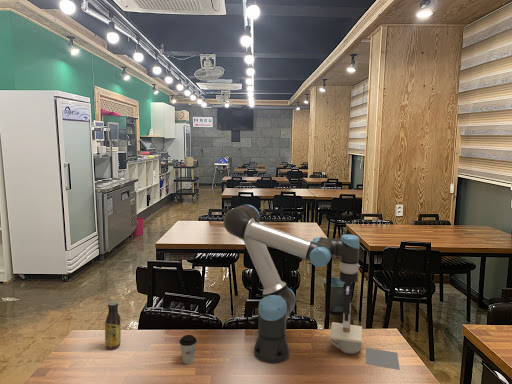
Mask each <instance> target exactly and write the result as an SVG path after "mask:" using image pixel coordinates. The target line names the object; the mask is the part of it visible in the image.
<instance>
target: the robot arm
mask: <svg viewBox="0 0 512 384" xmlns="http://www.w3.org/2000/svg"><path fill="white" fill-rule="evenodd" d="M260 219H261V216H260V213H259V210H258V209H257V208H256V207H255V206H253V205H252V204H240V205H239V206H236V207H234V208H231V209H229V210H228V211H227V212H226V213H225V215H224V217H223V227H224V229H225V230H226V232H227V233H229V234H230V235H232V236H234V237H236V238H238V239H240V240H242V241H243V243H244V245H245V248H246V250H247V253H248V254H249V256H250V260H251V262H252V264H253V266H254V268H255V271H256V272H257V273H256V274H257V275H258V278H259V280H260V282H261V285H262V287H263V291H262V295H263V298H261V299H260V300H259V303H258V309H257V311H258V317H257V318H258V322H257V325H258V326H257V327H258V328H257V329H258V331H257V333H258V334H257V337H256V339H255V340H256V341H255V342H254V346H253V356H254V357H255V358H256V359H257V360H259V361H261V362H264V363H267V364H277V363H281V362H284V361H286V360H287V359H288V358H289V357H290V346H289V342H288V340H287V336H286V334H287V333H286V332H287V320H288V318H289V317H290V315H291V313H292V312H293V311H294V309H295V306H296V299H297V298H296V294H295V293H294V291H293V290H292V289H291V288H289V287H288V285H287V283H286V282H285V281H282V280H281V277H280V274H279V273H278V270H277V268H276V266H275V263H274V261H273V259H272V257H271V254H270V252H269V250H268V248H267V246H268V247H271V248H273V249H277V250H280V251H283V252H285V253H287V254H291V255H293V256H297V257H299V258H302V259H305V260H306V261H310V263H311V264H312V265H313V266H314V267H317V268H322V267H325V266H326V265H327V264H328V263H329V262H330V261H331V258H332V257H335V258H340V261H339V280H340V282H342V283H343V286H342V288H343V299H344V300H343V310H341V313H342V316H343V317H342V324H343V327H345V328H349V325H351V318H350V316H351V314H352V313H351V310H352V304H353V301H354V300H352V296H353V289H354V284H355V283H357V282H358V280H359V268H360V267H361V265H360V264H359V262H360V237H359V236H357V235H355V234H346V233H345V234H342V235H341V237H340V238H332V237H331V238H330V237H329V238H328V237H322V236H320V237H318V236H316V237H313V238H312V240H309V239H307V238H303V237H300V236H298V235H295V234H291V233H289V232H287V231H283V230H280V229H277V228H274V227H272V226H269V225H266V224H264V223H260Z"/></svg>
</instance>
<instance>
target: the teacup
mask: <svg viewBox="0 0 512 384" xmlns="http://www.w3.org/2000/svg"><path fill="white" fill-rule="evenodd" d="M363 337H364V336H363V335H362V339H363ZM334 340H335V339H332V338H330V343H331V344H332V345H333V346H335V347H336V348H337V349H339V350H340V351H341V352H342V353H345V354H348V355H353V354H357V353H359V351H360V350H361V348H362V343H363V342H362V343H358V342H351V341H345V340H338V339H336V342H334Z"/></svg>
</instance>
